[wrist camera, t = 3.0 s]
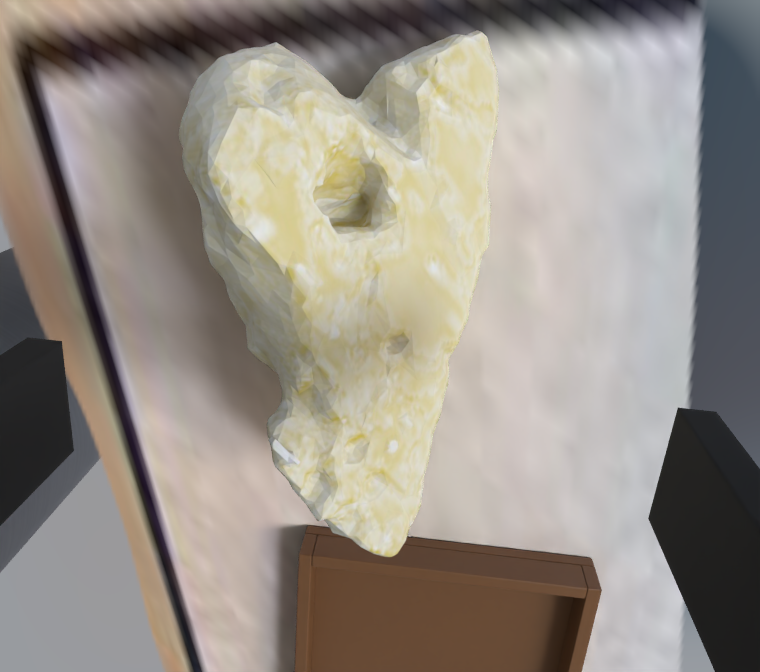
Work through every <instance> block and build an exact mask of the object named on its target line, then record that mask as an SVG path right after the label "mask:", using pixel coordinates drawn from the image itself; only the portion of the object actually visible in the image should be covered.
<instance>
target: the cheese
mask: <svg viewBox="0 0 760 672" xmlns="http://www.w3.org/2000/svg"><path fill="white" fill-rule="evenodd" d="M498 100H499V87H498V78H497V69H496V65H495V62H494V59H493V56H492V52H491V49H490V46H489V43H488V39H487V36H485V35H484V34H483V33H482V32H480V31H478V30H477V31H474V32H471V33H469V34H467V35H459V34H455V35H451V36H449V37H447V38H445V39H443V40H440V41H436V42H434V43H433V44H431V45H429V46H425V47H421V48H419V49H417V50H415V51H413V52H411V53H409V54H408V55H406V56H404V57H403V58H400V59H397V60H394V61H392V62H390V63H387V64H385V65H382V66H381V68H380V69H379V70H378V71H377V72H376V74H375V75H374V76H373V78H372V79H371V81H370V82H369V83H368V84H367V85H366V86H365V88H364V90H363V92H362V94H361V95H360V96H359V97H358V98H357V99H351V98H347V97H345V96H343V95H341V94H340V93H339V92H338V91H337V90H336V88H335V87H334V86H333V85H332V84H331V83H330V82H329V81H328V80H327V79H326V78H325V77H324V76H323V75H322V74H320V73H319V72H318V71H317V70H316V69H315V68H314V67H313V66H311V65H310V64H309V63H308V62H307V61H305V60H303V59H302V58H300V57H298V56H297V55H295V54H294V53H292V52H290V51H289V50H287V49H286V48H284V47H283V46H281V45H279V44H278V43H276V42H275V43H273V44H270V45H267V46H264V47H254V48H247V49H241V50H239V51H237V52H235V53H232V54H227V55H225V56H222V57H219V58H218V59H217V60H216V61H215V62H214V63H213V64H212V65H211V66H210V67H209V68H208V69H207V70H206V71H205V72H203V73H202V74H201V75H200V76H199V77H198V79H197V81H196V83H195V85H194V87H193V89H192V90H191V91H190V97H189V103H188V105H187V108H186V110H185V112H184V115H183V118H182V121H181V124H180V128H179V139H180V142H181V145H182V146H183V154H182V161H183V167H184V171H185V173H186V175H187V177H188V179H189V182H190V183H191V185H192V187H193V188H194V190H195V192H196V194H197V197H198V200H199V203H200V206H201V216H202V228H203V241H204V247H205V250H206V252H207V254H208V256H209V262H210V263H211V265H212V266H213V268H214V269H215V270H216V271H217V272H218V273H219V274H220V276H221V277H222V278H223V279H224V281H225V285H226V289H227V292H228V296H229V297H230V299H231V301H232V303H233V305H234V307H235V309H236V311H237V312H238V314H239V316H240V318H241V319H242V321H243V322H244V324H245V325H246V337H247V341H248V344H247V348H248V349H249V350H250V351H251V352H252V353H253V354H254V355H255V356H256V358H257V359H258V360H260V361H262V362H263V363H265V364H266V365H267V366H268V367H270V368H271V369H272V370H274V371H275V372H276V373H278V375H279V379H280V384H281V388H282V400H281V404H280V406H279V407H278V409H277V411H276V412H275V413H274V414H273V415H272V416H271V417H270V418H269V419H268V423H267V432H268V438H269V442H270V445H271V450H272V458H273V462H274V465H275V467H276V468H277V469H278V470H279V471H280V472H281V473H282V474H283V475H284V476H285V477H286V478H287V480H288V481H289V483H290V485H291V487H292V489H293V490H294V491H295V492H296V493H297V494H298V496H299V497H300V498H301V499H302V500H303V501H304V502H305V503H306V505H307V506H308V508H309V509H310V511H311V512H312V513H313V515H314V516H315V518H316V519H317V520H318V521H320V520H325V521H326V523H327V524H328V526H329V527H330V529H331V531H332V532H333V533H335V534H338V535H341V536H344V537H347V538H350V539H352V540H353V541H354V542H355V543H356V544H357V545H359V546H360V547H361V548H364V549H365V550H367V551H369V552H371V553H373V554H376V555H380V556H384V557H392V556H394V555H396V554H398V552H399V550H400V549H401V547H402V546H403V544H404V543H405V541H406V538H407V535H408V531H409V528H410V527H411V525H412V523H413V521H414V519H415V517H416V515H417V513H418V511H419V509H420V506H421V500H422V492H423V479H424V474H425V471H426V468H427V465H428V461H429V456H430V451H431V446H432V438H433V434H434V431H435V428H436V425H437V423H438V420H439V418H440V415H441V409H442V404H443V399H444V396H445V392H446V389H447V386H448V379H449V365H448V359H449V358H450V356H451V354H452V352H453V351H454V349H455V348H456V346H457V345H458V343H459V340H460V336H461V333H462V331H463V329H464V327H465V325H466V323H467V321H468V316H469V309H470V304H471V300H472V296H473V293H474V290H475V286H476V283H477V280H478V275H479V269H480V264H481V258H482V255H483V253H484V252H485V250H486V249H487V247H488V246H489V228H490V214H491V204H490V200H489V197H488V171H489V165H490V160H491V153H492V148H493V139H494V136H495V134H496V131H497V117H498Z"/></svg>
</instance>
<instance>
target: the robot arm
mask: <svg viewBox="0 0 760 672" xmlns="http://www.w3.org/2000/svg"><path fill="white" fill-rule="evenodd" d="M73 451H74V449H73V440H72V430H71V421H70V412H69V403H68V394H67V385H66V376H65V367H64V358H63V349H62V341H54V340H45V339H36V338H26V339H25V340H23V341H22V342H20V343H19V344H17V345H16V346H14V347H13V348H11V349H9V350H8V351H6V352H5V353H3V354H2V355H0V526H1V525H2V524H3V523H4V522H5V520H6V519H7V518H8V517H9V516H10V515H11V514H12V513H13V512H14V511H15V510H16V509H17V508H18V507H19V506H20V505H21V504H22V503H23V502H24V501H25V500H26V499H27V498H28V497H29V496H30V495H31V494H32V493H33V492H34V491H35V490H36V489H37V488H38V487H39V486H40V485H41V484H42V483H43V482H44V481H45V480H46V479H47V478H48V476H49V475H50V474H51V473H52V472H53V471H54V470H55V469H56V468H57V467H58V466H59V465H60V464H61V463H62V462H63V461H64V460H65V459H66V458H67V457H68V456H69V455H70V454H71V453H72V452H73ZM648 519H649V521H650V523H651V526H652V528H653V530H654V533H655V535H656V537H657V539H658V542H659V544H660V546H661V549H662V551H663V553H664V556H665V558H666V560H667V562H668V565H669V567H670V569H671V572H672V574H673V576H674V578H675V581H676V583H677V585H678V588H679V590H680V592H681V595H682V597H683V599H684V601H685V604H686V606H687V608H688V611H689V613H690V615H691V618H692V620H693V622H694V624H695V627H696V629H697V631H698V634H699V636H700V638H701V640H702V643H703V645H704V647H705V649H706V652H707V654H708V657H709V659H710V661H711V663H712V666H713V668H714V670H715V672H760V469H759V467H758V466H757V465H756V464H755V462H754V461H753V460H752V458H751V457H750V456H749V454H748V453H747V452H746V450H745V449H744V448H743V446H742V445H741V444H740V443H739V441H738V440H737V439H736V437H735V436H734V435H733V433H732V432H731V431H730V429H729V428H728V427H727V425H726V424H725V423H724V422H723V420H722V419H721V418H720V416H719V415H718V414H717V412H711V411H703V410H693V409H684V408H678V410H677V413H676V417H675V421H674V425H673V428H672V432H671V436H670V440H669V443H668V447H667V451H666V455H665V458H664V462H663V466H662V469H661V473H660V477H659V481H658V484H657V488H656V492H655V496H654V499H653V503H652V507H651V511H650V514H649V518H648Z"/></svg>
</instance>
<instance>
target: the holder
mask: <svg viewBox="0 0 760 672" xmlns="http://www.w3.org/2000/svg"><path fill="white" fill-rule="evenodd" d="M601 591H602V590H601V587H600V583H599V580H598V577H597V573H596V570H595V567H594V564H593V561H592V559H591V558H585V557H576V556H567V555H559V554H550V553H542V552H533V551H524V550H516V549H507V548H498V547H490V546H481V545H472V544H464V543H455V542H446V541H438V540H429V539H420V538H412V537H407V538H406V541H405V543H404V544H403V546H402V547H401V549H400V550H399V552H398V554H396V555H394V556H392V557H384V556H380V555H376V554H373V553H371V552H369V551H367V550H365V549H364V548H361V547H360V546H359V545H357V544H356V543H355V542H354V541H353V540H352V539H350V538H347V537H344V536H341V535H338V534H335V533H333V532H332V531H331V529H330V528H325V527H317V526H307V528H306V532H305V535H304V538H303V542H302V545H301V548H300V552H299V559H298V587H297V615H296V643H295V671H294V672H582V668H583V664H584V660H585V656H586V652H587V647H588V643H589V639H590V635H591V631H592V627H593V623H594V619H595V615H596V611H597V607H598V603H599V599H600V595H601Z"/></svg>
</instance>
